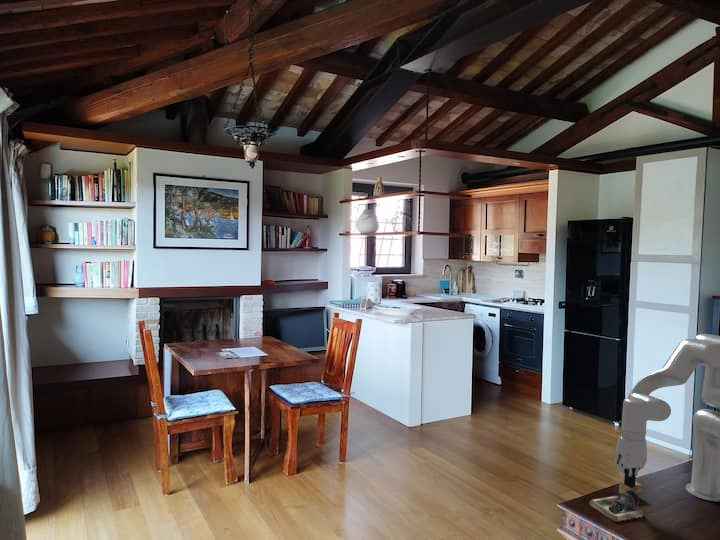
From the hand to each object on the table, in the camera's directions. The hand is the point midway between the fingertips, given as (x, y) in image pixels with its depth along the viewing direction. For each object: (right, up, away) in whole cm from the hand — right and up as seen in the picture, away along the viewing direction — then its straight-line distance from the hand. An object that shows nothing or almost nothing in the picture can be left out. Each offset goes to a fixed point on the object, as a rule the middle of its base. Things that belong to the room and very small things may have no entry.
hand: (629, 485), depth 182 cm
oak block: (+5, -8, +10) cm, 14 cm away
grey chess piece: (+1, -4, 0) cm, 4 cm away
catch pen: (-5, -8, -1) cm, 10 cm away
